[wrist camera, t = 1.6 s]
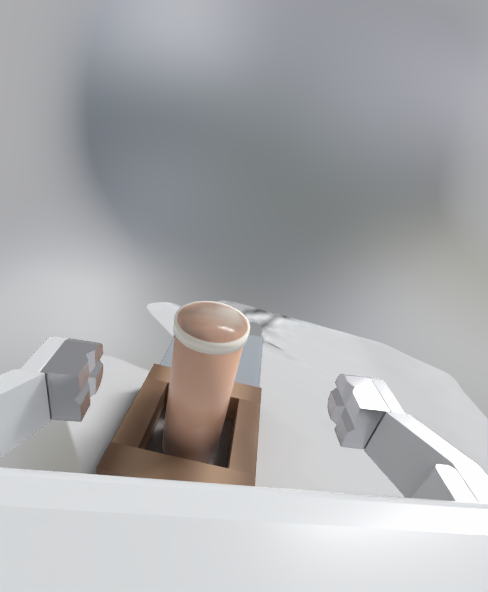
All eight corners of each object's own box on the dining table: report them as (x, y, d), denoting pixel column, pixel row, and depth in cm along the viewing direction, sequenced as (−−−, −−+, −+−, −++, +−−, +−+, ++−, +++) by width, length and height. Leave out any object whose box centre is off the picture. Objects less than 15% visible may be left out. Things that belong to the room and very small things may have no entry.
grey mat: (159, 367, 42) (159, 365, 42) (183, 321, 53) (183, 319, 52) (258, 389, 42) (259, 387, 42) (262, 339, 53) (263, 337, 53)
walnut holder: (97, 491, 27) (96, 467, 26) (152, 384, 39) (154, 363, 38) (245, 525, 27) (253, 503, 26) (255, 407, 39) (261, 387, 38)
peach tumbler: (219, 472, 31) (253, 348, 24) (155, 469, 30) (169, 339, 23) (219, 403, 39) (244, 293, 31) (168, 398, 38) (181, 284, 30)
